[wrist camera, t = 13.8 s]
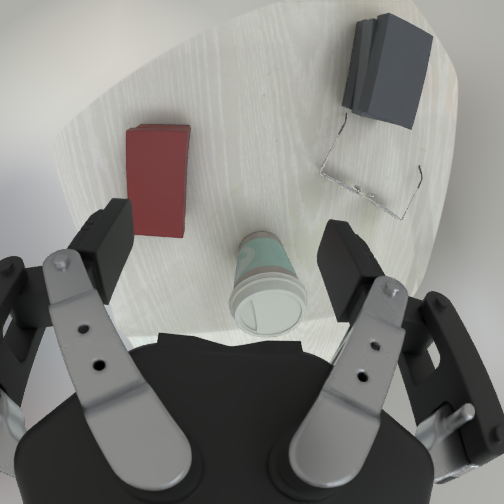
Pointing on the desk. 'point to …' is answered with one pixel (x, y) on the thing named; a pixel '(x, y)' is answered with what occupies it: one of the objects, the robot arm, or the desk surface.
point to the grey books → (387, 70)
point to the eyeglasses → (360, 187)
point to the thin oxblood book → (157, 180)
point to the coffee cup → (266, 288)
